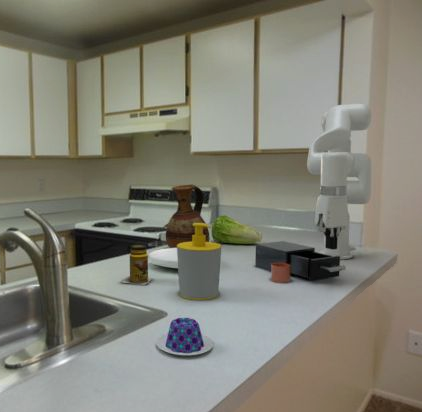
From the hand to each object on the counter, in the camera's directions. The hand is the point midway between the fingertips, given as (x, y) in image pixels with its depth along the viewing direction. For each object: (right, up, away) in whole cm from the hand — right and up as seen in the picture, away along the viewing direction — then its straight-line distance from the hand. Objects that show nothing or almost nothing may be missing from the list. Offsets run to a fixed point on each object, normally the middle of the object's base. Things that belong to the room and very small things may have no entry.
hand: (331, 248), depth 131 cm
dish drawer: (-3, -10, +6) cm, 12 cm away
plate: (-45, -9, +26) cm, 53 cm away
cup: (-15, -11, +4) cm, 19 cm away
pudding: (-51, -16, -45) cm, 70 cm away
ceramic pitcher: (-41, -6, +56) cm, 70 cm away
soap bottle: (-44, -13, -9) cm, 47 cm away
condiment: (-63, -12, +5) cm, 64 cm away
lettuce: (-15, -5, +70) cm, 72 cm away
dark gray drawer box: (-9, -10, +19) cm, 23 cm away
